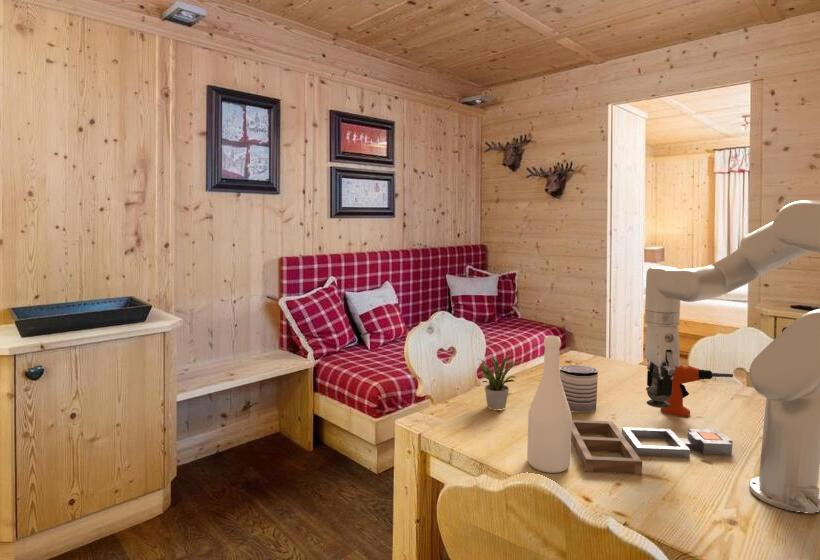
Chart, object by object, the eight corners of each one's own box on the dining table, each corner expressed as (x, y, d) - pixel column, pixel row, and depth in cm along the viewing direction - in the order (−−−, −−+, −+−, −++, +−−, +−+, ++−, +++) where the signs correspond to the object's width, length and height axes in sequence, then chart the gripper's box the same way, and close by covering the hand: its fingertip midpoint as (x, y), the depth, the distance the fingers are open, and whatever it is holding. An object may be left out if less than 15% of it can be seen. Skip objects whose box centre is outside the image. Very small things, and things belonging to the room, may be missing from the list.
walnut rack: (641, 474, 114) (642, 461, 114) (585, 471, 115) (586, 459, 115) (612, 432, 136) (612, 421, 136) (565, 430, 137) (566, 419, 137)
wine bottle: (562, 454, 124) (566, 332, 120) (576, 474, 114) (581, 341, 110) (522, 455, 123) (525, 332, 120) (533, 475, 114) (537, 342, 110)
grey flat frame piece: (739, 459, 121) (740, 447, 120) (637, 455, 123) (637, 443, 123) (715, 438, 132) (715, 426, 132) (621, 434, 135) (622, 423, 134)
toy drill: (736, 421, 139) (731, 367, 138) (659, 415, 150) (655, 365, 149) (736, 416, 143) (732, 362, 142) (662, 410, 154) (657, 361, 153)
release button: (721, 450, 125) (721, 439, 125) (704, 449, 125) (705, 439, 125) (713, 443, 129) (714, 433, 128) (697, 442, 129) (698, 432, 129)
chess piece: (648, 398, 131) (650, 352, 129) (674, 403, 127) (676, 355, 126) (642, 405, 126) (644, 357, 125) (668, 410, 122) (670, 360, 121)
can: (556, 410, 152) (557, 370, 150) (558, 397, 162) (559, 360, 161) (597, 415, 148) (599, 374, 147) (596, 401, 159) (598, 363, 157)
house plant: (522, 399, 161) (523, 348, 159) (527, 416, 147) (529, 360, 145) (475, 398, 162) (476, 347, 160) (477, 414, 148) (478, 359, 146)
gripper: (694, 324, 115) (690, 403, 117) (664, 311, 132) (661, 380, 134) (659, 324, 116) (656, 402, 118) (633, 311, 133) (631, 379, 135)
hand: (658, 389), depth 126 cm, fingers closed on chess piece, 5 cm apart
